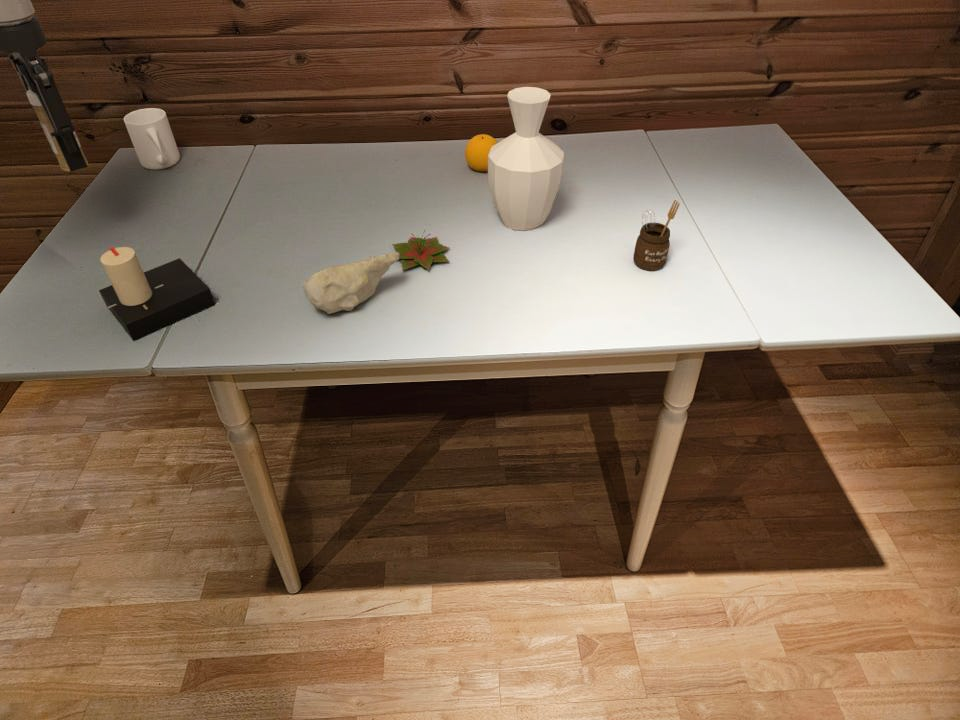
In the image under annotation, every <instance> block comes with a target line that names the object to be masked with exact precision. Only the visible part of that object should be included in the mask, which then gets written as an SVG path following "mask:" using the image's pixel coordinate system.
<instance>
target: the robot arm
mask: <svg viewBox="0 0 960 720" xmlns="http://www.w3.org/2000/svg"><path fill="white" fill-rule="evenodd" d="M35 13H36V10H35V8H34V6H33V3H32V1H31V0H0V53H1V54H8V59H9V60H10V62H11V65H12V67H13V68H14V69H15V72H16V73H17V75H18V78H19V80H20V82H21V83H22V86H23V89H24V90H25V93H26V92H27V91H28V90H29V89H30V90H31V91H32V92H34V93H36V95H37V97H38V99H39V101H40V103H41V105H42V107H43V109H44V111H45V113H46V115H47V117H48V119H49V121H50V124H51V126H52V128H53V130H54V132H52V133H50V134H51V136H52V137H55V138H56V140H57V143H58V145H59V147H60V149H61V151H62V154H63V156H64V158H65V160H66V163H67V165H68V167H69V169H70V172H71V173H72V171H73V172H76V170H77V171H80V170H79V169H81V170H83V169H86V168H88V165H87V164H86V162H85V159H84V157H83V155H82V152H81V150H80V148H79V146H78V143H77V141H76V139H75V136H74V134H73V132H74V131H75V132H76V130H75V126H74V125H73V123H72V120H71V118H70V116H69V113H68V111H67V107H66V106H65V103H64V101H63V98H62V97H61V94H60V91H59V89H58V87H57V84H56V81H55V79H54V74H53V73H52V71H51V70H49V66H48V64H47V61H46V60H45V59H44V58H41V56H40V55H39V54H38V52H37V51H38V49H39V48H43V47H45V45H47V43H48V38H47V36H46V33H45V31H44V28H43V27H42V24H41V22H40V21H41V20H40V19H39V18H38V17H37V16H35ZM32 108H33V110H34V113H35V115H36V116H37V114H36V112H35V109H34V107H33V106H32ZM82 168H83V169H82Z"/></svg>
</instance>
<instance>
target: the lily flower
mask: <svg viewBox="0 0 960 720" xmlns="http://www.w3.org/2000/svg"><path fill="white" fill-rule="evenodd" d="M425 232H426V230H424V231H423V233H422V236H421V237H416V236H415V235H414V234H413V232H412V233H411V235H412V236H410V237H408V240H407V242H399V243H396V244H395V243H392V244H391V245H392V246H393V248H394V249H395V250H396V252H399V254H400V255H399V259H402V260H401V271H404V270H407V269H410V268H412V267H416V266H419V265H420V266H422V267H423V268H425V269H426V270H427V271H428V272H429V271H430V268H431V265H432V264H433V263H450V260H449V259H448V258H447V256H446V255H445V254H444V253H442V252H444V251H447V250H450V247H448V246H446V245H443V244H441V243H439V239H438V236H434V237H429V236H430V235H432V233H428V234H427V235H426V236H423V235H424V234H425Z"/></svg>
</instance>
